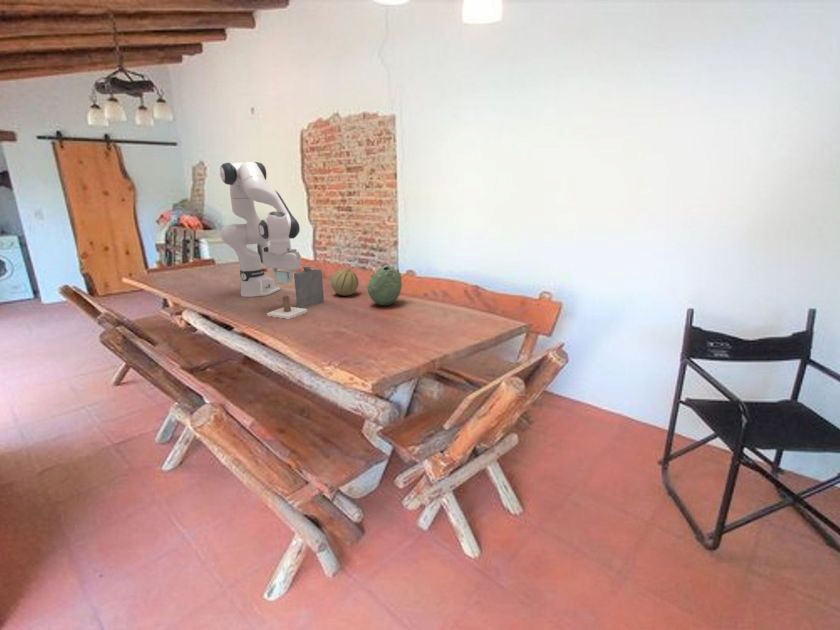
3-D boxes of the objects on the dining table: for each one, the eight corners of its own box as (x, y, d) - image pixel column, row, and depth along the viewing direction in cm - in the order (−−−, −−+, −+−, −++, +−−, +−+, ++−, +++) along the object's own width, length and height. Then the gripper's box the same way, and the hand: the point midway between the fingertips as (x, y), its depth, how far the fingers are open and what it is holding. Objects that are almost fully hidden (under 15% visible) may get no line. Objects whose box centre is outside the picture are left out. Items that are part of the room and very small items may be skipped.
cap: (283, 279, 208) (282, 269, 207) (294, 280, 206) (293, 270, 204) (274, 282, 203) (273, 272, 201) (284, 283, 200) (283, 273, 199)
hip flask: (299, 308, 218) (295, 269, 212) (294, 307, 220) (291, 268, 214) (325, 301, 229) (322, 264, 224) (320, 300, 232) (317, 263, 226)
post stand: (286, 308, 217) (284, 292, 215) (307, 312, 212) (305, 295, 209) (267, 316, 206) (265, 298, 204) (288, 319, 201) (287, 301, 198)
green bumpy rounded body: (361, 306, 220) (359, 267, 214) (386, 298, 235) (384, 261, 229) (384, 311, 211) (383, 271, 205) (408, 303, 226) (408, 264, 220)
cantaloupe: (329, 293, 246) (327, 267, 241) (354, 290, 252) (353, 265, 247) (336, 299, 233) (334, 272, 228) (362, 296, 239) (361, 269, 234)
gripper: (303, 248, 198) (306, 278, 202) (269, 246, 206) (272, 274, 211) (293, 250, 192) (296, 281, 197) (259, 248, 201) (262, 277, 205)
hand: (283, 277), depth 204 cm, fingers closed on cap, 6 cm apart
